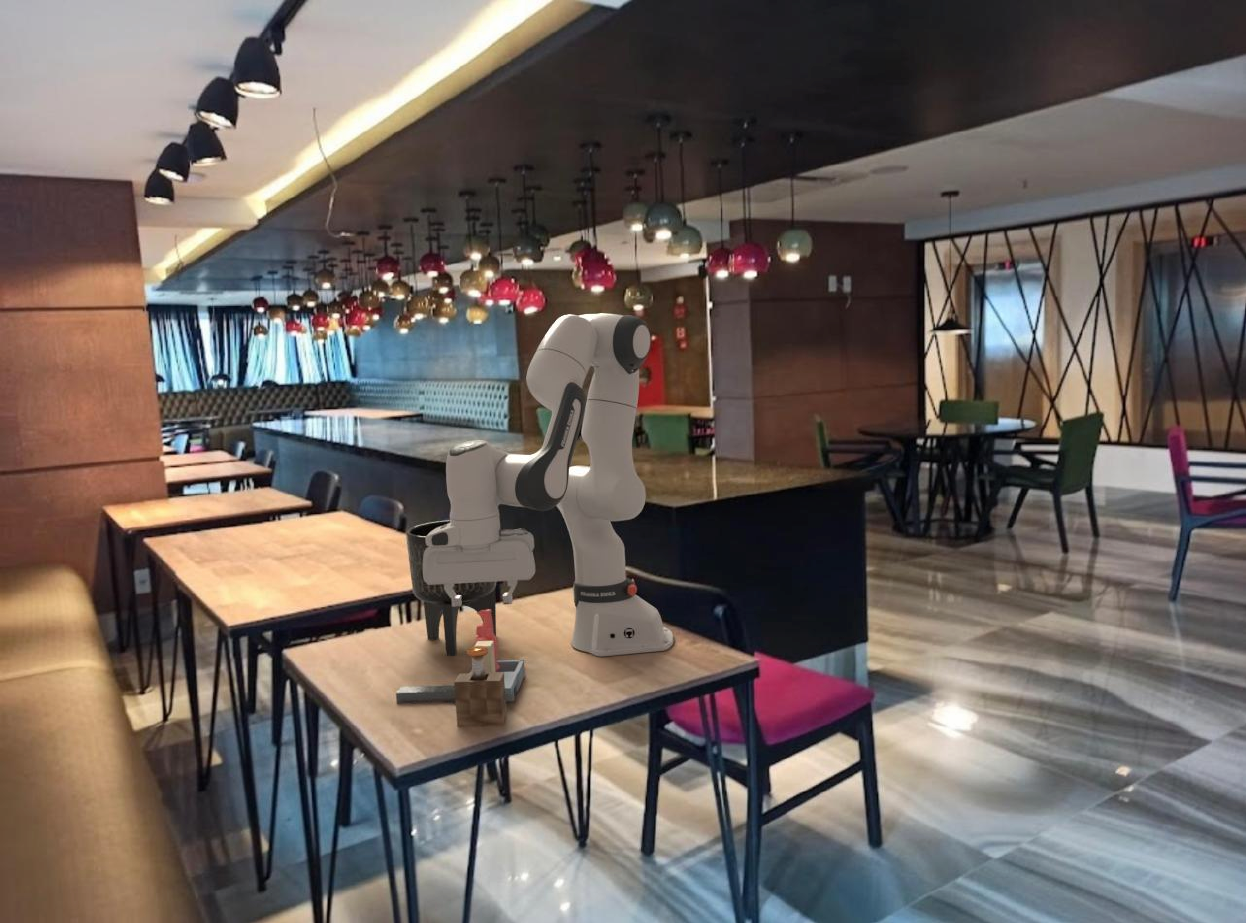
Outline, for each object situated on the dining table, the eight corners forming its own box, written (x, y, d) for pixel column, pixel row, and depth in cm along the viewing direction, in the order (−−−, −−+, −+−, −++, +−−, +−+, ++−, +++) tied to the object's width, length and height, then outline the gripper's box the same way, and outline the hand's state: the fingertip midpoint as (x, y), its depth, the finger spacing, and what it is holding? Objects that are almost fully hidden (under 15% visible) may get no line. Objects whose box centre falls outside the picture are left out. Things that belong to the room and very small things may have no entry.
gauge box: (506, 715, 161) (503, 672, 160) (502, 724, 157) (499, 680, 156) (462, 716, 161) (459, 673, 160) (457, 725, 157) (454, 682, 156)
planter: (495, 655, 193) (487, 535, 190) (404, 659, 193) (395, 538, 190) (508, 627, 212) (501, 517, 209) (425, 630, 213) (417, 520, 209)
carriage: (524, 674, 181) (521, 619, 179) (511, 705, 165) (508, 646, 163) (477, 675, 181) (473, 621, 180) (460, 706, 165) (455, 647, 164)
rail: (515, 694, 171) (514, 683, 170) (512, 700, 168) (512, 689, 168) (401, 697, 172) (400, 686, 172) (396, 703, 169) (395, 693, 169)
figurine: (467, 684, 176) (468, 610, 174) (484, 676, 180) (485, 603, 178) (487, 690, 173) (488, 614, 171) (504, 682, 177) (505, 608, 175)
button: (491, 682, 160) (489, 645, 159) (488, 690, 156) (485, 652, 156) (471, 683, 160) (469, 646, 159) (467, 690, 157) (465, 653, 156)
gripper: (535, 524, 165) (541, 596, 167) (425, 530, 166) (432, 602, 168) (530, 532, 159) (536, 607, 161) (416, 538, 160) (424, 612, 162)
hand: (482, 604), depth 165 cm, fingers open, 8 cm apart
